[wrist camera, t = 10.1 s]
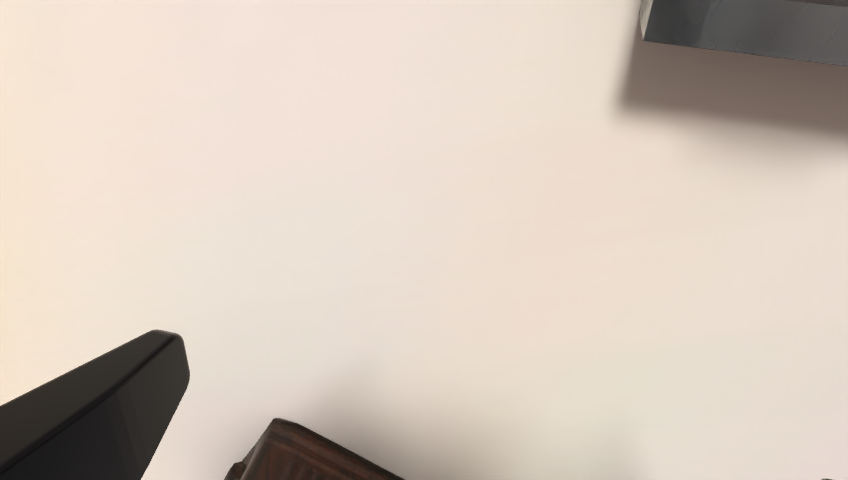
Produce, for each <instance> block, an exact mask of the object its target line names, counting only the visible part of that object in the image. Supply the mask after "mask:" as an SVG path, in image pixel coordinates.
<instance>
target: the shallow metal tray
mask: <svg viewBox="0 0 848 480" xmlns="http://www.w3.org/2000/svg"><path fill="white" fill-rule="evenodd" d="M639 18H640V25H641V31H642V37H643V41H649V42H657V43H665V44H673V45H681V46H689V47H697V48H705V49H713V50H721V51H729V52H737V53H745V54H753V55H761V56H769V57H777V58H785V59H793V60H801V61H809V62H817V63H826V64H834V65H842V66H848V0H642V4H641V8H640V12H639Z"/></svg>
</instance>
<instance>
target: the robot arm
mask: <svg viewBox="0 0 848 480" xmlns="http://www.w3.org/2000/svg"><path fill="white" fill-rule="evenodd" d="M189 379H190V371H189V366H188V361H187V356H186V351H185V346H184V341H183V339H182V337H181V336H180V335H179V334H176V333H172V332H167V331H163V330H152V331H149V332H147V333H145V334H143V335H141V336H139V337H137V338H135V339H133V340H131V341H129V342H127V343H125V344H123V345H121V346H119V347H117V348H115V349H113V350H111V351H109V352H107V353H105V354H103V355H101V356H99V357H97V358H95V359H93V360H91V361H89V362H87V363H85V364H83V365H81V366H79V367H77V368H75V369H73V370H71V371H69V372H67V373H65V374H63V375H61V376H59V377H57V378H55V379H53V380H51V381H49V382H47V383H45V384H43V385H41V386H39V387H37V388H35V389H33V390H31V391H29V392H27V393H25V394H23V395H21V396H19V397H17V398H15V399H13V400H11V401H9V402H7V403H5V404H3V405H1V406H0V480H141V478H142V476H143V474H144V472H145V471H146V469H147V467H148V465H149V463H150V461H151V459H152V457H153V455H154V453H155V451H156V449H157V447H158V445H159V443H160V441H161V439H162V437H163V435H164V433H165V431H166V429H167V427H168V425H169V423H170V421H171V419H172V417H173V415H174V413H175V411H176V409H177V407H178V405H179V403H180V401H181V399H182V397H183V395H184V393H185V391H186V389H187V386H188V383H189ZM822 480H832V479H822Z"/></svg>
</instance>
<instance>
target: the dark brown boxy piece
mask: <svg viewBox="0 0 848 480" xmlns="http://www.w3.org/2000/svg"><path fill="white" fill-rule="evenodd" d="M224 480H403V479H402V478H400V477H398V476H396V475H394V474H392V473H390V472H388V471H387V470H385V469H383V468H381V467H379V466H377V465H375V464H373V463H371V462H370V461H368V460H366V459H364V458H362V457H360V456H358V455H356V454H354V453H353V452H351V451H349V450H347V449H345V448H343V447H341V446H339V445H337V444H336V443H334V442H332V441H330V440H328V439H326V438H324V437H322V436H320V435H318V434H316V433H314V432H312V431H310V430H309V429H307V428H305V427H303V426H301V425H299V424H296V423H293V422H290V421H287V420H284V419H280V418H275V419H273V420H272V422H271V423H270V425H269V426H268V427H267V429H266V430H265V432H264V433H263V435H262V436H261V437H260V439H259V440H258V442H257V443H256V444H255V446H254V447H253V448H252V449H251V451H250V452H249V453H248V454H247V456H246V457H245V458H244V459H243V461H242V462H238V463H234V465H233V466H232V467H231V469H230V470H229V471H228V473H227V475H226V477H225V479H224Z"/></svg>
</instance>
